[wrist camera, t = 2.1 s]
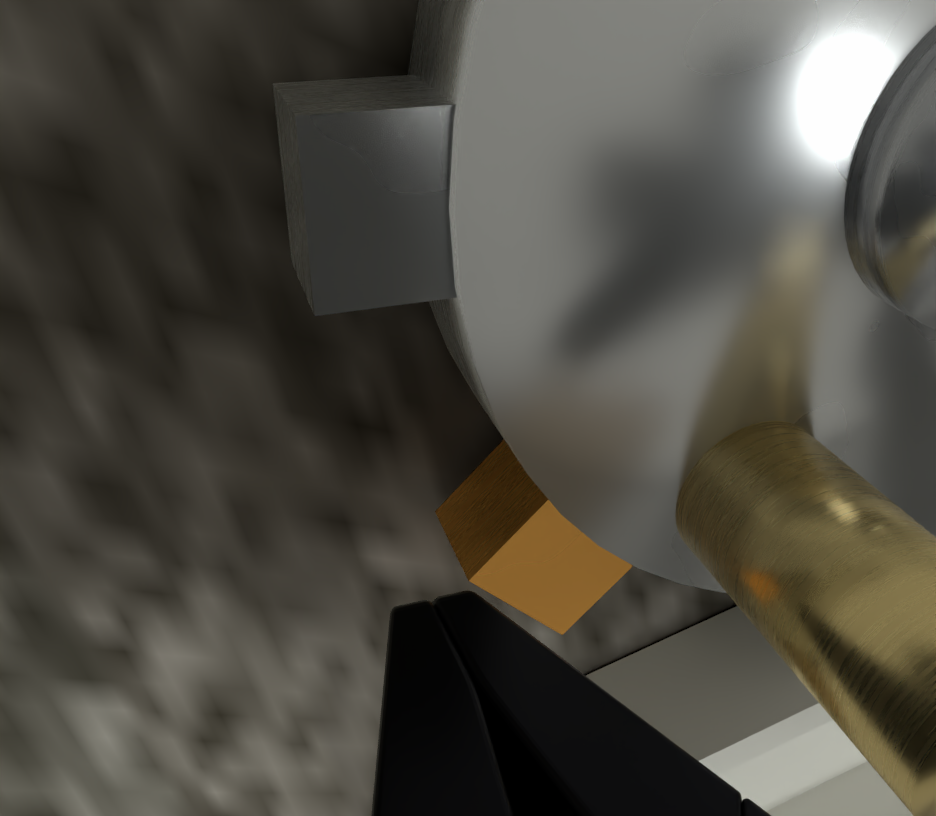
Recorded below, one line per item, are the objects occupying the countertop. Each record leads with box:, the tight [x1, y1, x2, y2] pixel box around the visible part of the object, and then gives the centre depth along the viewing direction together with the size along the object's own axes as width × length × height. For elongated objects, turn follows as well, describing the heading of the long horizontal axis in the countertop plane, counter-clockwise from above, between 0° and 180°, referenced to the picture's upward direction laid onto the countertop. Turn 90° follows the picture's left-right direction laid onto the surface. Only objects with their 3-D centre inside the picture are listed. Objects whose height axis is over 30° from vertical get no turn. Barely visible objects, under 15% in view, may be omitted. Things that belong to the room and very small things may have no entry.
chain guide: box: [586, 606, 913, 816], centre depth 16 cm, size 10×6×2 cm, turn 105°
